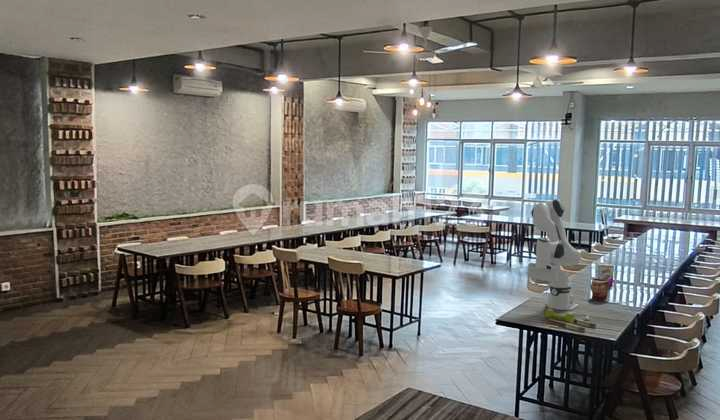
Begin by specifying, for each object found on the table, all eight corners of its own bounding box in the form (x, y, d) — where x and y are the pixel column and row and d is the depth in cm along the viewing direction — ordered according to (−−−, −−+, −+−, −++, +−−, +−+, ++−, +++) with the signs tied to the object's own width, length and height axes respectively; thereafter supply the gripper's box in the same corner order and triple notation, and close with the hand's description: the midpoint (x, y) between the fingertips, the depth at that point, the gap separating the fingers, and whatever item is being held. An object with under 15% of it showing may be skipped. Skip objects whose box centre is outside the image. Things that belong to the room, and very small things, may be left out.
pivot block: (585, 322, 346) (585, 316, 345) (590, 324, 344) (590, 317, 343) (582, 323, 344) (583, 316, 343) (587, 325, 342) (587, 318, 341)
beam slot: (555, 317, 356) (555, 313, 356) (595, 327, 337) (595, 323, 337) (542, 321, 347) (542, 317, 347) (583, 332, 328) (583, 327, 328)
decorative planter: (592, 294, 416) (593, 275, 415) (610, 297, 410) (611, 277, 409) (587, 300, 399) (588, 281, 397) (606, 303, 393) (607, 283, 391)
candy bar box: (597, 285, 446) (598, 264, 444) (596, 284, 451) (597, 263, 449) (613, 286, 442) (614, 265, 441) (612, 285, 447) (613, 264, 446)
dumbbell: (543, 321, 349) (544, 309, 348) (549, 318, 355) (549, 307, 354) (570, 326, 338) (571, 314, 338) (575, 323, 344) (576, 312, 344)
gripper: (525, 262, 359) (524, 284, 360) (555, 267, 343) (554, 290, 345) (531, 261, 363) (530, 283, 364) (560, 266, 347) (559, 289, 349)
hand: (542, 286), depth 354 cm, fingers open, 7 cm apart
